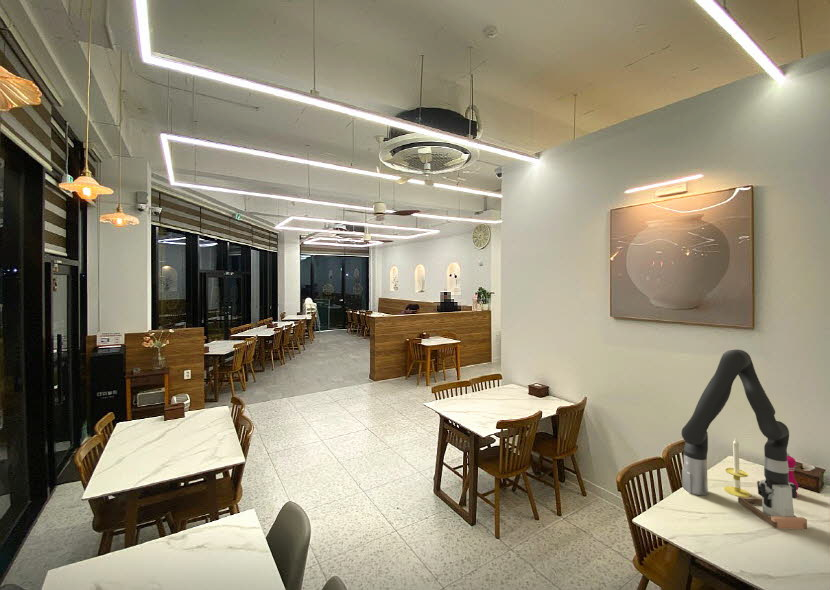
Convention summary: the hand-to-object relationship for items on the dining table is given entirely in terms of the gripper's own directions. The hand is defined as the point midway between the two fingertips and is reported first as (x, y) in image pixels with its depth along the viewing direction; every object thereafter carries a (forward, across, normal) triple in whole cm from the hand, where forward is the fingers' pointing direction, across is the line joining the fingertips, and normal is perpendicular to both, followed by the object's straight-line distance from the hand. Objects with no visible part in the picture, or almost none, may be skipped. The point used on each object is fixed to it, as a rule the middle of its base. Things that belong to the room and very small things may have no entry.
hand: (777, 506), depth 156 cm
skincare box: (+5, 0, 0) cm, 5 cm away
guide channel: (+5, 0, +3) cm, 6 cm away
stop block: (+5, 0, -5) cm, 8 cm away
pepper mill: (+6, +23, +22) cm, 33 cm away
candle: (+6, 0, +22) cm, 23 cm away
